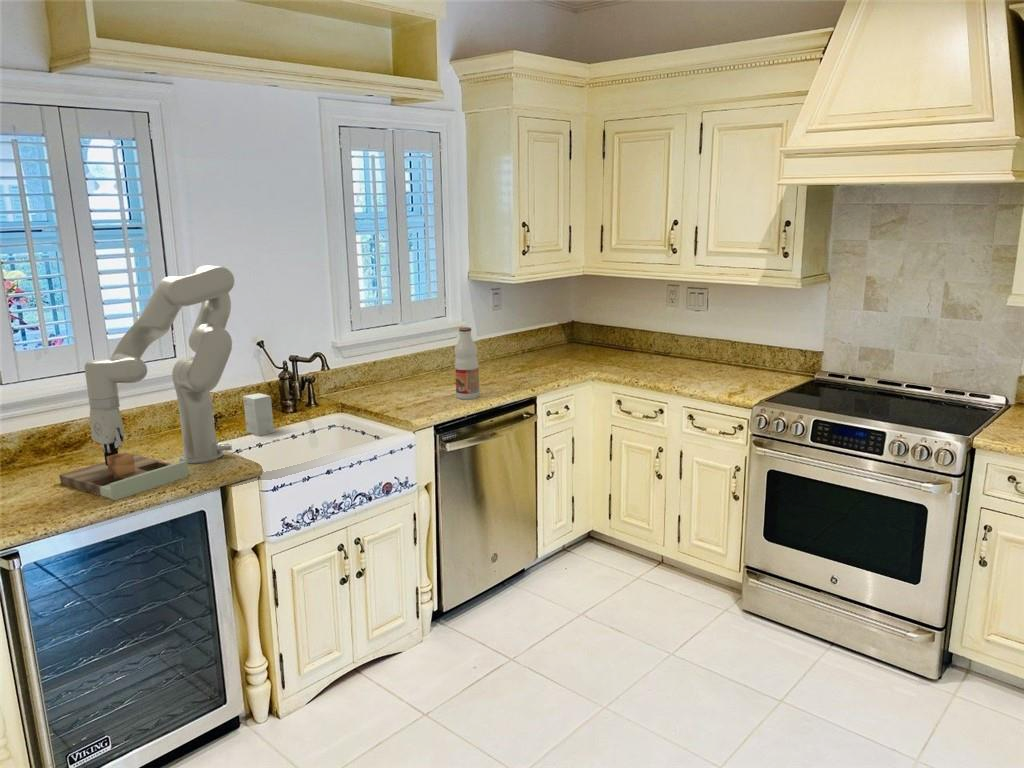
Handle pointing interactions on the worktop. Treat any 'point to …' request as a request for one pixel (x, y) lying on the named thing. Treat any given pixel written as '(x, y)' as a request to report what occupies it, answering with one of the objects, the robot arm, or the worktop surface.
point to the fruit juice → (466, 366)
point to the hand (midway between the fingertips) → (112, 464)
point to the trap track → (106, 474)
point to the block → (121, 463)
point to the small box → (258, 414)
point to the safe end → (145, 481)
